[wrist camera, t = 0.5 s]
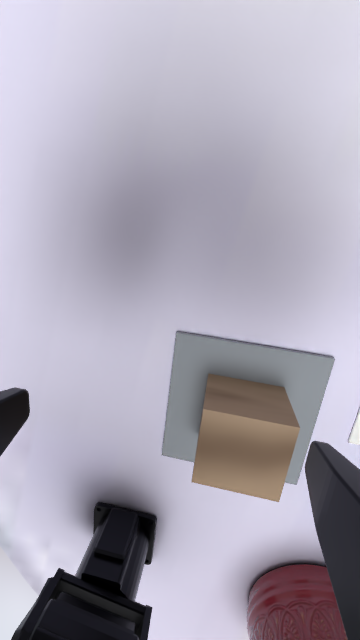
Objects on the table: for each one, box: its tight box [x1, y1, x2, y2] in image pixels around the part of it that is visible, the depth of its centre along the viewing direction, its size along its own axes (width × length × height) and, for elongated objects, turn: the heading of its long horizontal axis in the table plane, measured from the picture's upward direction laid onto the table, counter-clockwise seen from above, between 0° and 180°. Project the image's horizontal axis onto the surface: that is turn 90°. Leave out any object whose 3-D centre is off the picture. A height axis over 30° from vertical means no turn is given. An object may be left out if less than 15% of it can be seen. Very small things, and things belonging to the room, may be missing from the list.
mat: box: [162, 331, 335, 485], centre depth 23 cm, size 12×12×1 cm
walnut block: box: [192, 373, 300, 502], centre depth 21 cm, size 6×6×5 cm
